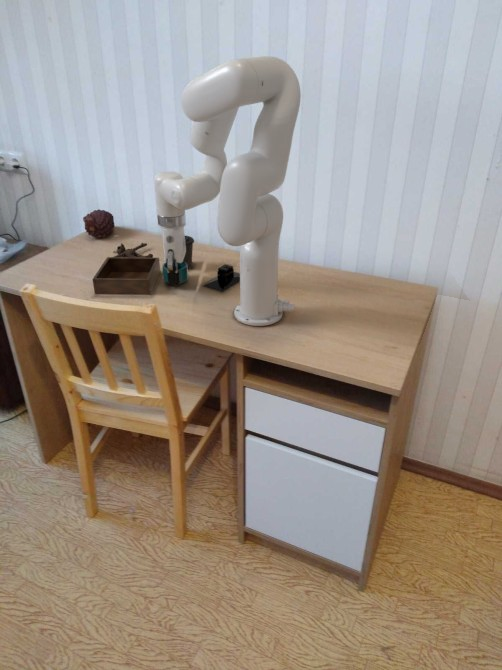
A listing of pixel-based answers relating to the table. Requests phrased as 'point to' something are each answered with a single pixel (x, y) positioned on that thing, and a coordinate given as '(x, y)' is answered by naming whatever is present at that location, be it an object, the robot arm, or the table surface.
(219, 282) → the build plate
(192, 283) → the table surface
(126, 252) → the brown branch
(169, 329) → the table surface
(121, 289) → the open wooden box
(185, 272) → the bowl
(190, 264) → the coffee cup
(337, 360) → the table surface
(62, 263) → the table surface
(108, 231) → the pine cone
